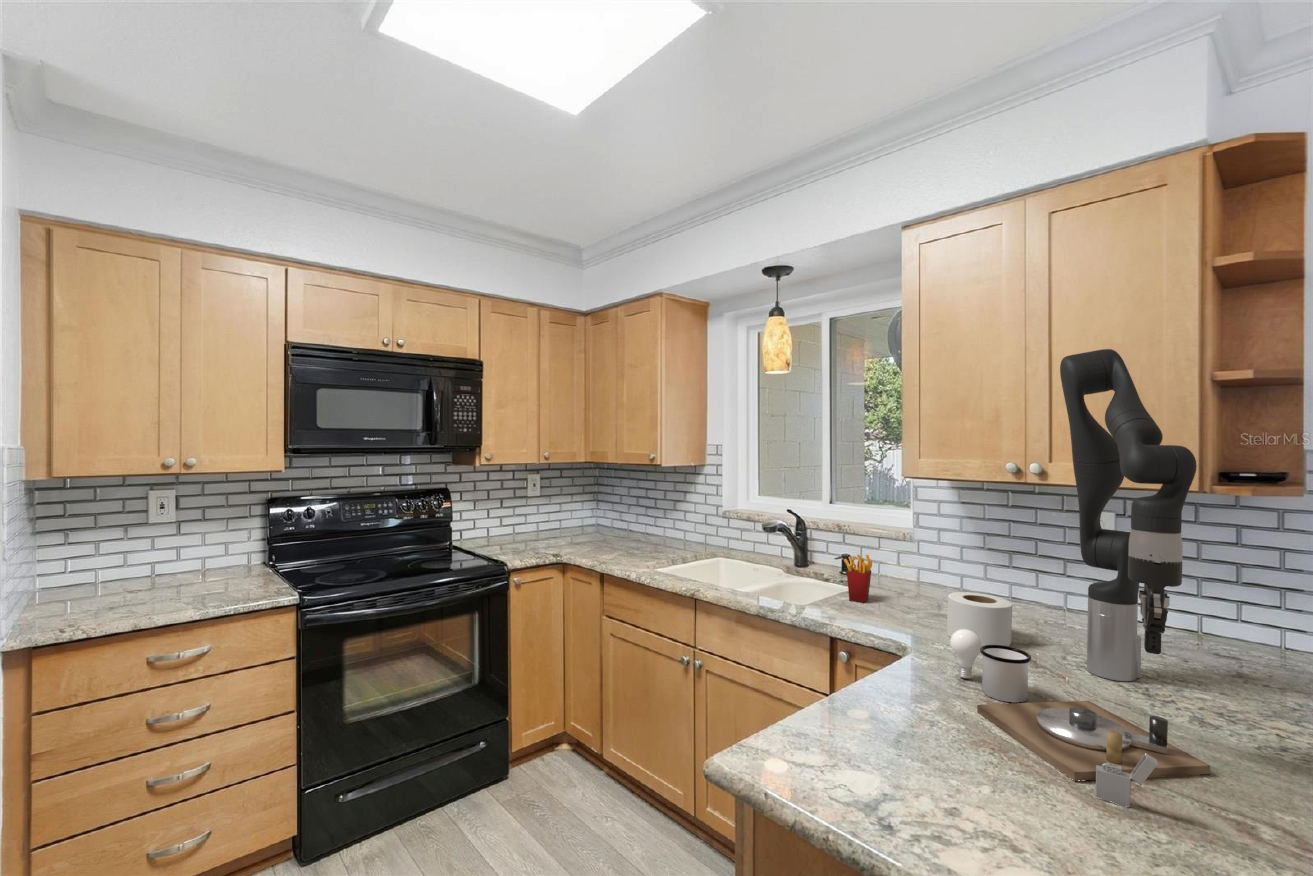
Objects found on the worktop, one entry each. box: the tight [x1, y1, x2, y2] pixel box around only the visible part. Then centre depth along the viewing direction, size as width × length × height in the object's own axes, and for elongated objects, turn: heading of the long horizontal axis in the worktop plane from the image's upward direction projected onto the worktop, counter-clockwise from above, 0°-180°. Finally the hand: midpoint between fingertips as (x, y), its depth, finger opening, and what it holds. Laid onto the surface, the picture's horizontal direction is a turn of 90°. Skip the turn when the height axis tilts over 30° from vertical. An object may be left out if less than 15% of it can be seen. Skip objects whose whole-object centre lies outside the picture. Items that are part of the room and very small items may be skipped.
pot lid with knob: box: [1037, 707, 1169, 754], centre depth 108 cm, size 19×14×5 cm
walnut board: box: [976, 700, 1211, 782], centre depth 109 cm, size 24×24×6 cm
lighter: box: [1095, 753, 1158, 808], centre depth 90 cm, size 7×2×8 cm, turn 55°
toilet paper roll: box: [946, 591, 1013, 647], centre depth 165 cm, size 16×15×11 cm
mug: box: [980, 645, 1032, 704], centre depth 129 cm, size 12×10×9 cm
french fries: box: [843, 554, 873, 604], centre depth 202 cm, size 9×8×15 cm
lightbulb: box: [949, 629, 982, 680], centre depth 136 cm, size 6×6×11 cm
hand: (1152, 652), depth 109 cm, fingers closed
